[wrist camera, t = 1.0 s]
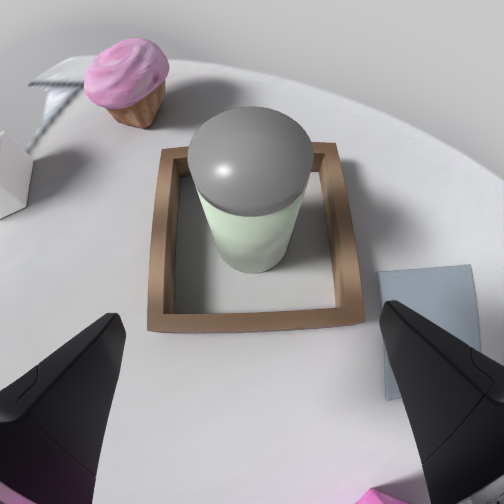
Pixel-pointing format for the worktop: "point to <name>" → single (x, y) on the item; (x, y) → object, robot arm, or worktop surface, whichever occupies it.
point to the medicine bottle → (13, 175)
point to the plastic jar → (251, 182)
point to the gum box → (378, 498)
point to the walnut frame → (342, 315)
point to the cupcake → (129, 81)
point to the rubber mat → (433, 304)
